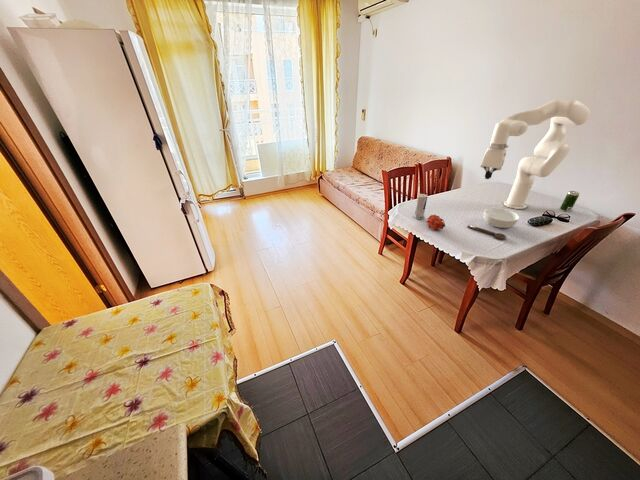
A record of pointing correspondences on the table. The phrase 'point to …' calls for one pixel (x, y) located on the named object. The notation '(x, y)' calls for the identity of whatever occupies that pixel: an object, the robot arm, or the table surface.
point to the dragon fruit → (435, 222)
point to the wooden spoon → (489, 232)
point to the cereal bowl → (500, 217)
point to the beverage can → (420, 206)
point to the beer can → (569, 201)
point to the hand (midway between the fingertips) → (487, 178)
